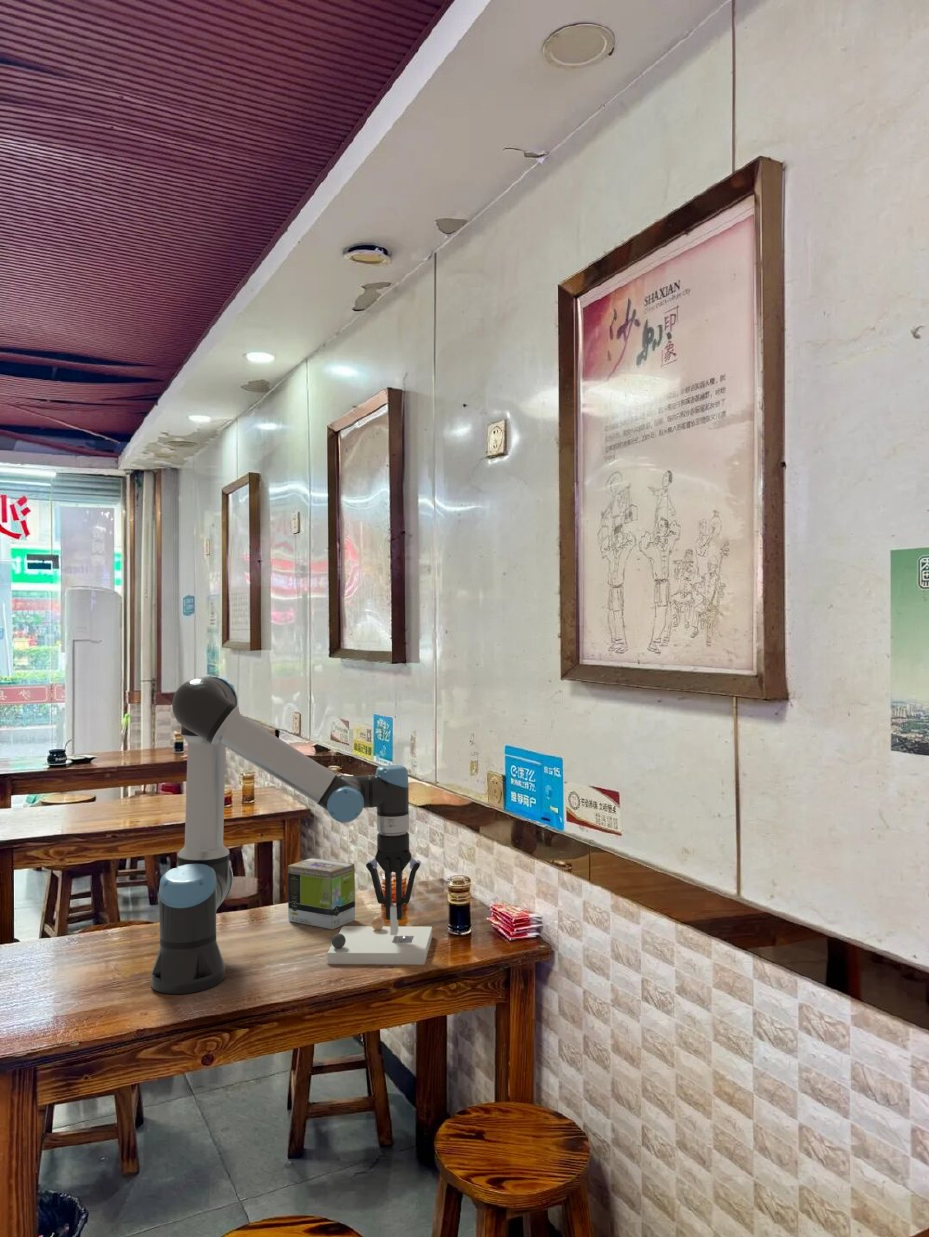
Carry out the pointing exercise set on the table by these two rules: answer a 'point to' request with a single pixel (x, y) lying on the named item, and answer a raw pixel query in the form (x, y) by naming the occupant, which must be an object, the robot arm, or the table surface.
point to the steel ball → (405, 939)
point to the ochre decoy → (377, 923)
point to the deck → (381, 946)
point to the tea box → (321, 893)
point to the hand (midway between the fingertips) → (394, 933)
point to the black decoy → (338, 940)
